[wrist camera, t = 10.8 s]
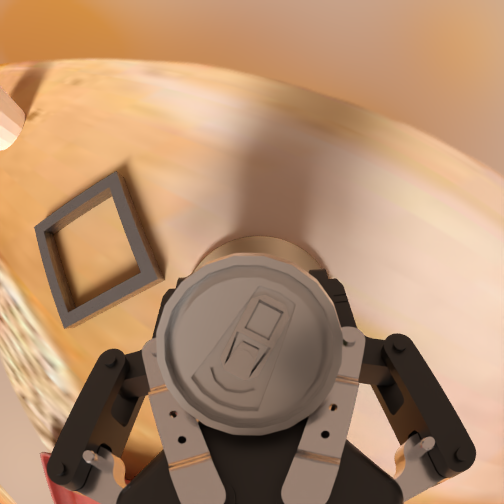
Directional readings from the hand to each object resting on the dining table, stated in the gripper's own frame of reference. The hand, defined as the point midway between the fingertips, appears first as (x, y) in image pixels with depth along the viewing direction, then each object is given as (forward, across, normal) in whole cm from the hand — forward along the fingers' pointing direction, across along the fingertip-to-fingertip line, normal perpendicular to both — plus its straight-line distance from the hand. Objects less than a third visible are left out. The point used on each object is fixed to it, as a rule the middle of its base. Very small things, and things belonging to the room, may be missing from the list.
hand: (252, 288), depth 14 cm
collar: (+8, +13, +3) cm, 16 cm away
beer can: (+3, 0, +5) cm, 6 cm away
